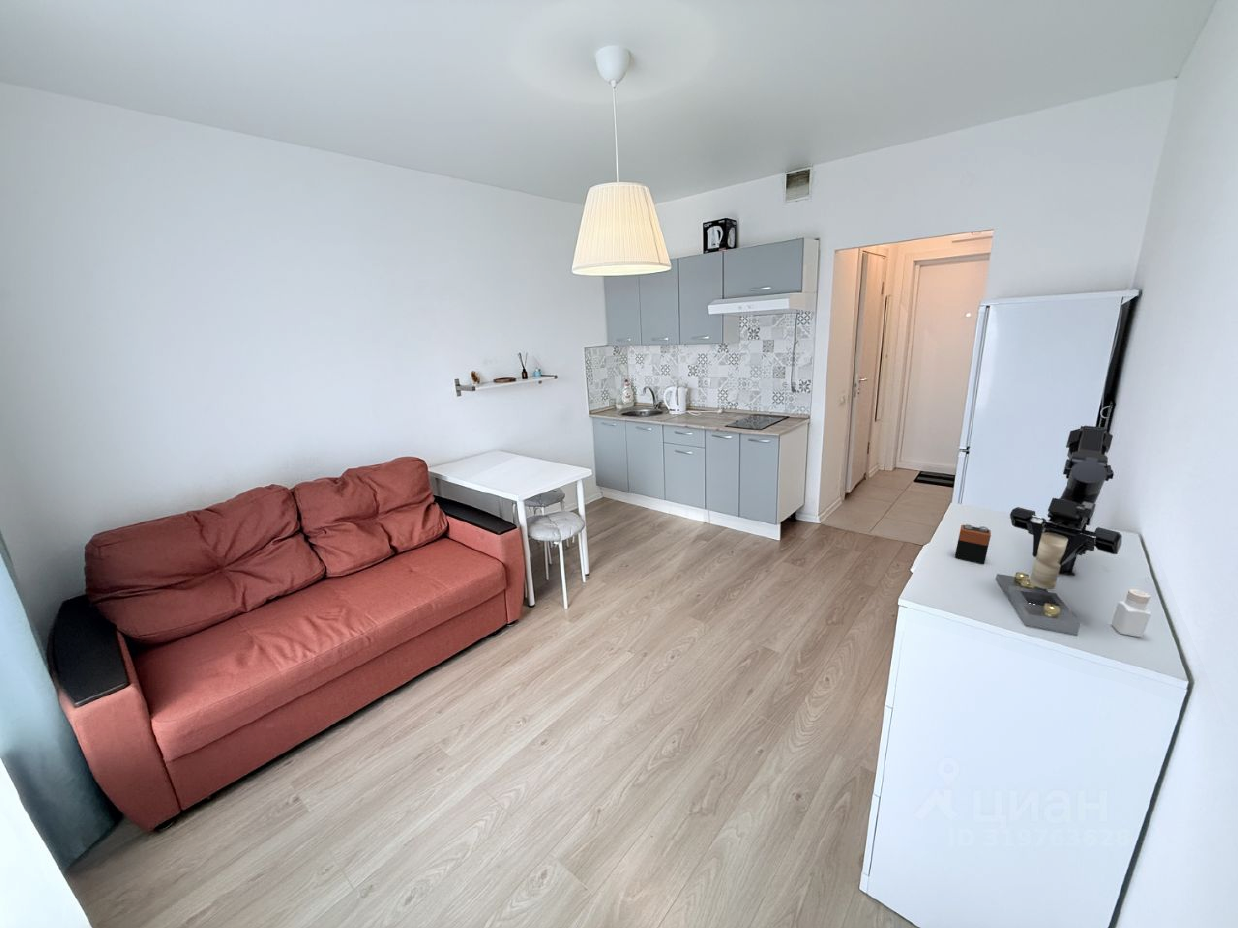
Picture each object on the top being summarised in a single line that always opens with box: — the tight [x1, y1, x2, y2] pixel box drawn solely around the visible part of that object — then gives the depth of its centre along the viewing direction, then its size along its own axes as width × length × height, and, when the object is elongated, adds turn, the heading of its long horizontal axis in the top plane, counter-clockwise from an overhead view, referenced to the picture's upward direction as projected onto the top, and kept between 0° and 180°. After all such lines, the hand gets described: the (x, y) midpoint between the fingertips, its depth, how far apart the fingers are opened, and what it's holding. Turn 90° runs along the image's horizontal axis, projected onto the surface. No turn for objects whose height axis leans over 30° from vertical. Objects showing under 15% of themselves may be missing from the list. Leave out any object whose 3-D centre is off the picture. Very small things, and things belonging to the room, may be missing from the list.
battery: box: [955, 523, 992, 565], centre depth 136 cm, size 4×7×10 cm, turn 54°
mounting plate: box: [995, 571, 1081, 636], centre depth 114 cm, size 9×22×5 cm, turn 157°
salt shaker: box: [1111, 588, 1152, 638], centre depth 103 cm, size 4×4×10 cm
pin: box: [1029, 532, 1068, 590], centre depth 109 cm, size 4×4×12 cm
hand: (1047, 560), depth 108 cm, fingers closed on pin, 4 cm apart
